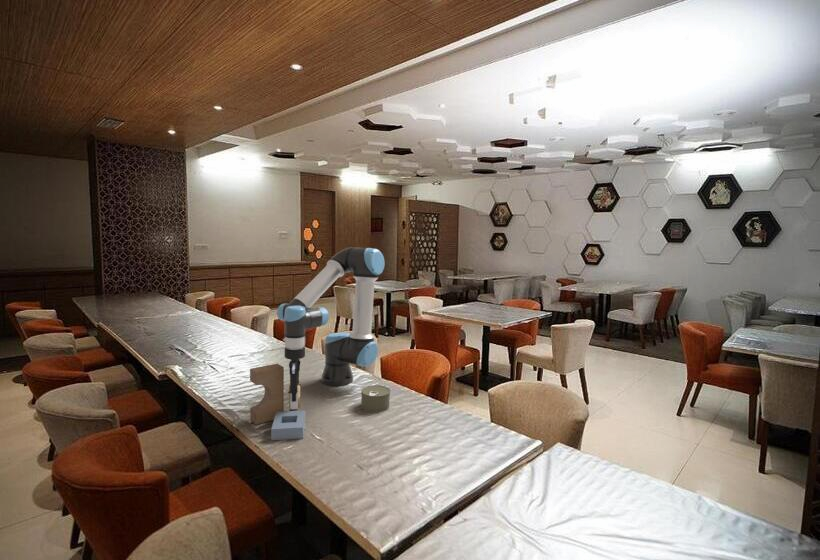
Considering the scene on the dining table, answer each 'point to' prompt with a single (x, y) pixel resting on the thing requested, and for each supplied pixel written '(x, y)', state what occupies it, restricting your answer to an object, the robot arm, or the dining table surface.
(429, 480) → the dining table surface
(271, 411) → the decorative block
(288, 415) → the board
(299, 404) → the peg
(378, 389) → the can
